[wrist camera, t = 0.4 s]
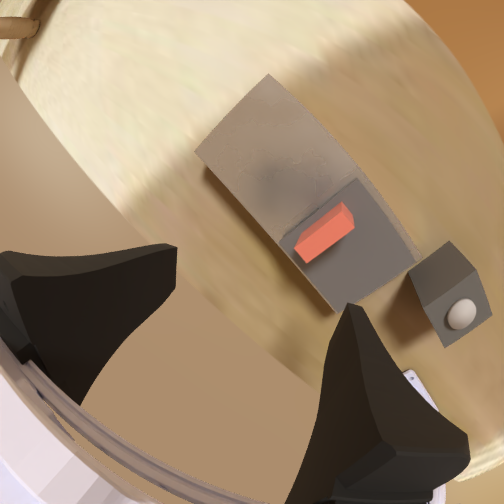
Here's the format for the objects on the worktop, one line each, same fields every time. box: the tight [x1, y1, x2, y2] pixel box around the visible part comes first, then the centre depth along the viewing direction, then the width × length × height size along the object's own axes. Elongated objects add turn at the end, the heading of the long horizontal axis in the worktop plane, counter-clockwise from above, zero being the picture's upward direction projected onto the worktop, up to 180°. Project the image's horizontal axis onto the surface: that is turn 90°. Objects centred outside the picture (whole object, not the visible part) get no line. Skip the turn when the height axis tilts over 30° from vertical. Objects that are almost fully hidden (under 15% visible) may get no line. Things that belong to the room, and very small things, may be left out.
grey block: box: [408, 241, 492, 348], centre depth 14 cm, size 4×4×5 cm
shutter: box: [278, 178, 416, 313], centre depth 14 cm, size 6×6×3 cm
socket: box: [194, 74, 423, 314], centre depth 17 cm, size 14×7×2 cm, turn 44°
